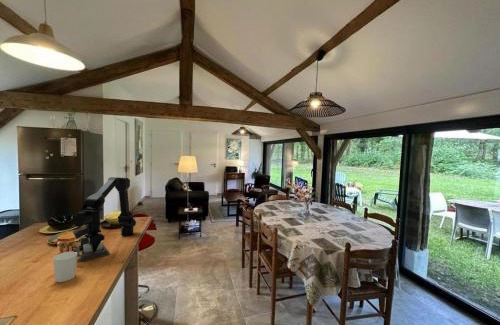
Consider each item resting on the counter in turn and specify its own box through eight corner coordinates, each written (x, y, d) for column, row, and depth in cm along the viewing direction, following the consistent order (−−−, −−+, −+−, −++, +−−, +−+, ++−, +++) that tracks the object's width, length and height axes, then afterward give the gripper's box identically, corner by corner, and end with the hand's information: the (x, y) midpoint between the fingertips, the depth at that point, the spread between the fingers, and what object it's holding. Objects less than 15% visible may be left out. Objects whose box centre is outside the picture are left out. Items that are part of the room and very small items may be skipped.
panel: (101, 251, 121) (101, 240, 121) (102, 253, 119) (102, 242, 119) (83, 255, 115) (83, 244, 115) (84, 257, 113) (84, 246, 113)
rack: (100, 242, 134) (101, 231, 134) (110, 254, 119) (110, 242, 119) (71, 248, 124) (71, 237, 124) (77, 262, 109) (78, 249, 109)
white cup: (49, 279, 94) (50, 256, 94) (71, 271, 101) (71, 249, 101) (58, 285, 91) (59, 261, 90) (80, 276, 98) (80, 254, 97)
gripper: (71, 219, 117) (71, 248, 118) (77, 228, 104) (77, 260, 105) (96, 215, 125) (96, 242, 126) (105, 224, 112) (104, 254, 113)
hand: (93, 249), depth 117 cm, fingers open, 5 cm apart
